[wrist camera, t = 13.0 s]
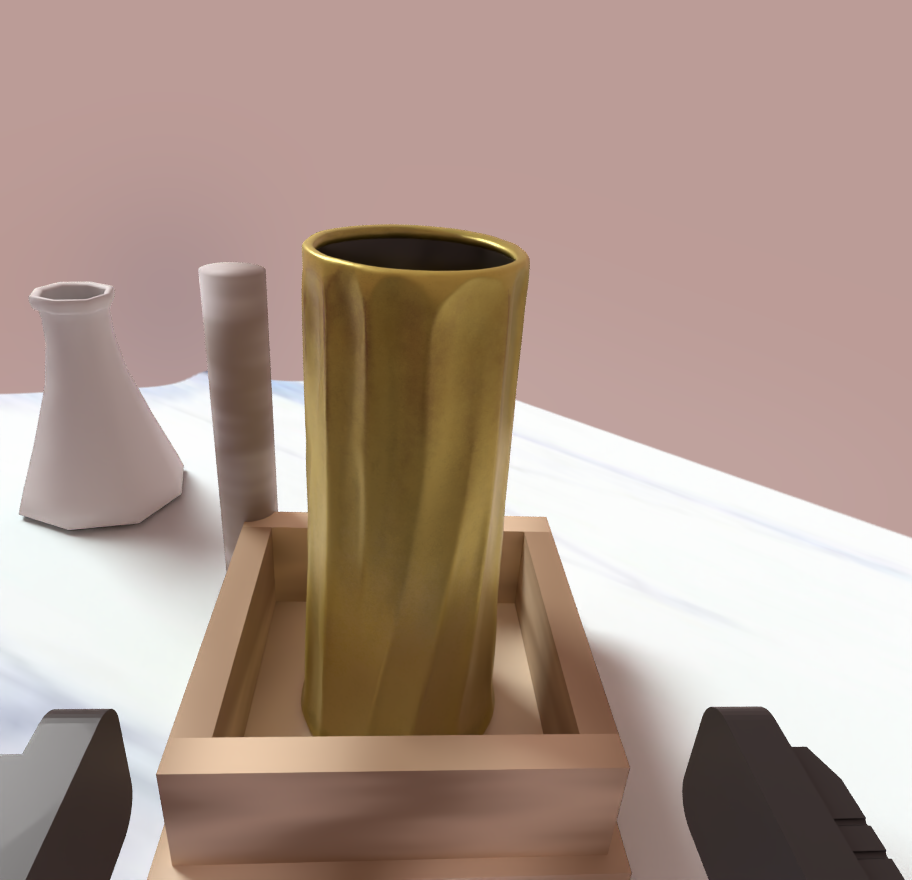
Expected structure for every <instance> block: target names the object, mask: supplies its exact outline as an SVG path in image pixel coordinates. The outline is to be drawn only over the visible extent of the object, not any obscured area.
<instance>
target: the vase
mask: <svg viewBox="0 0 912 880" xmlns="http://www.w3.org/2000/svg"><path fill="white" fill-rule="evenodd" d="M302 262H303V272H302V329H303V331H302V332H303V367H304V368H303V369H304V400H305V427H306V477H307V498H308V530H307V544H308V574H307V598H306V628H305V679H304V683H303V688H302V695H301V708H302V713H303V716H304V719H305V721H306V723H307V725H308V727H309V730H310V732H311V733H312V735H313V737H328V736H432V735H483V734H484V732H485V731H486V729H487V727H488V725H489V724H490V721H491V719H492V716H493V712H494V705H495V695H494V687H493V668H494V657H495V645H496V626H497V601H498V588H499V576H500V565H501V554H502V543H503V530H504V514H505V500H506V490H507V480H508V470H509V460H510V449H511V439H512V429H513V420H514V409H515V398H516V386H517V378H518V369H519V359H520V350H521V342H522V332H523V322H524V312H525V304H526V297H527V289H528V281H529V269H530V260H529V257H528V255H527V254H526V252H525V251H524V250H522V249H521V248H520V247H519V246H517V245H515V244H513V243H511V242H508V241H505V240H502V239H499V238H497V237H493V236H490V235H486V234H481V233H476V232H471V231H465V230H459V229H452V228H442V227H432V226H418V225H392V224H389V225H365V226H364V225H362V226H350V227H342V228H334V229H328V230H324V231H320V232H318V233H315V234H313V235H311V236H310V237H309V238H308V239H307V240H305V241H304V243H303V245H302Z"/></svg>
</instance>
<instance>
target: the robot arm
mask: <svg viewBox="0 0 912 880" xmlns="http://www.w3.org/2000/svg"><path fill="white" fill-rule="evenodd" d="M682 793H683V806H684V812H685V817H686V820H687V824H688V827H689V830H690V832H691V835H692V838H693V840H694V843H695V845H696V848H697V851H698V853H699V856H700V858H701V861H702V863H703V866H704V869H705V871H706V874H707V876H708V879H709V880H905V879H904V878H903V876H902V874H901V873H900V871H899V870H898V868H897V867H896V865H895V863H894V862H893V860H892V859H888V857H887V855H886V849H885V848H884V846H883V844H882V843H881V841H880V840H879V838H878V836H877V835H876V833H875V832H874V830H873V829H872V827H871V826H868V825H867V824H866V821H865V819H866V817H865V816H864V814H863V813H862V811H861V810H860V808H859V806H858V805H857V803H856V802H855V800H854V798H853V797H852V795H851V794H850V792H849V791H848V789H847V787H846V786H845V784H844V783H843V781H842V779H840V778H839V777H838V776H837V775H836V774H835V773H834V772H833V771H832V770H831V769H830V768H829V767H828V766H827V765H825V764H824V763H823V762H822V761H821V760H820V759H819V758H818V757H817V756H816V755H815V754H814V753H813V752H812V751H810V750H809V749H808V748H807V747H791V746H790V744H789V742H788V741H787V739H786V737H785V735H784V734H783V732H782V730H781V729H780V727H779V725H778V724H777V722H776V720H775V719H774V717H773V716H772V714H771V713H770V712H769V711H768V710H767V709H765V708H763V707H709V708H708V709H706V711H705V712H704V714H703V717H702V720H701V723H700V727H699V730H698V733H697V736H696V740H695V743H694V746H693V749H692V753H691V756H690V759H689V762H688V766H687V769H686V772H685V776H684V780H683V790H682ZM131 808H132V783H131V778H130V773H129V768H128V763H127V758H126V753H125V748H124V743H123V738H122V733H121V728H120V723H119V718H118V715H117V713H116V711H115V710H113V709H54V710H51V711H49V712H48V713H47V714H46V715H45V716H44V717H43V718H42V720H41V722H40V723H39V725H38V727H37V729H36V730H35V732H34V734H33V736H32V738H31V739H30V741H29V743H28V745H27V747H26V748H25V750H24V752H23V754H5V755H0V880H110V878H111V875H112V873H113V870H114V867H115V864H116V862H117V859H118V856H119V853H120V850H121V848H122V845H123V842H124V839H125V836H126V833H127V829H128V825H129V821H130V815H131Z"/></svg>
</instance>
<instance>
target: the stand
mask: <svg viewBox="0 0 912 880" xmlns="http://www.w3.org/2000/svg"><path fill="white" fill-rule="evenodd" d="M199 281H200V291H201V302H202V313H203V324H204V335H205V345H206V356H207V367H208V378H209V388H210V399H211V410H212V421H213V431H214V442H215V453H216V464H217V474H218V485H219V496H220V506H221V517H222V528H223V539H224V549H225V560H226V571H227V573H226V576H225V578H224V581H223V584H222V587H221V590H220V593H219V596H218V598H217V601H216V604H215V607H214V610H213V613H212V616H211V619H210V621H209V624H208V627H207V630H206V633H205V636H204V639H203V641H202V644H201V647H200V650H199V653H198V656H197V659H196V661H195V664H194V667H193V670H192V673H191V676H190V679H189V682H188V684H187V687H186V690H185V693H184V696H183V699H182V702H181V704H180V707H179V710H178V713H177V716H176V719H175V722H174V725H173V727H172V730H171V733H170V736H169V739H168V742H167V745H166V747H165V750H164V753H163V756H162V759H161V762H160V765H159V768H158V770H157V773H156V777H157V783H158V788H159V794H160V800H161V805H162V811H163V817H164V823H165V824H164V827H163V830H162V833H161V837H160V840H159V843H158V846H157V849H156V852H155V856H154V859H153V862H152V865H151V868H150V871H149V875H148V878H147V880H630V877H631V874H632V872H631V869H630V865H629V862H628V859H627V855H626V852H625V848H624V845H623V841H622V838H621V835H620V831H619V828H618V824H617V821H616V820H617V816H618V812H619V808H620V804H621V801H622V797H623V793H624V789H625V785H626V781H627V777H628V773H629V769H630V766H629V763H628V760H627V757H626V754H625V751H624V748H623V745H622V742H621V739H620V736H619V733H618V730H617V727H616V724H615V721H614V718H613V715H612V712H611V709H610V706H609V703H608V700H607V697H606V694H605V691H604V688H603V685H602V682H601V679H600V676H599V673H598V671H597V668H596V665H595V662H594V659H593V656H592V653H591V650H590V647H589V644H588V641H587V638H586V635H585V632H584V629H583V626H582V623H581V620H580V617H579V614H578V611H577V608H576V605H575V602H574V599H573V596H572V593H571V590H570V587H569V584H568V581H567V578H566V575H565V572H564V569H563V566H562V563H561V560H560V557H559V554H558V551H557V548H556V545H555V542H554V539H553V536H552V533H551V530H550V527H549V524H548V521H547V518H546V517H520V516H504V530H503V543H502V554H501V565H500V576H499V588H498V601H497V626H496V645H495V657H494V668H493V687H494V695H495V705H494V712H493V716H492V719H491V721H490V724H489V725H488V727H487V729H486V731H485V732H484V734H483V735H432V736H328V737H313V735H312V733H311V732H310V730H309V727H308V725H307V723H306V721H305V719H304V716H303V713H302V708H301V695H302V688H303V683H304V679H305V628H306V598H307V574H308V544H307V530H308V512H278V504H277V485H276V465H275V445H274V426H273V406H272V387H271V368H270V348H269V330H268V309H267V289H266V270H265V268H264V267H262V266H259V265H255V264H250V263H241V262H222V263H214V264H208V265H205V266H202V267H200V268H199Z"/></svg>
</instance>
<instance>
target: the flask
mask: <svg viewBox="0 0 912 880" xmlns="http://www.w3.org/2000/svg"><path fill="white" fill-rule="evenodd" d="M114 295H115V290H114V286H110V285H105V284H99V283H95V282H57V283H54V284H50V285H46V286H42V287H39V288H35V289H34V290H33V292H32V293H31V294H30V295H29V303H30V304H31V307H32V308H33V309H34V310H38V311H39V314H40V317H41V319H42V325H43V331H44V336H45V342H46V354H45V364H46V365H45V387H44V393H43V398H42V404H41V409H40V415H39V420H38V425H37V431H36V436H35V442H34V446H33V451H32V455H31V459H30V464H29V468H28V472H27V477H26V481H25V486H24V490H23V494H22V500H21V505H20V510H19V515H22V516H26V517H29V518H32V519H35V520H38V521H42V522H45V523H48V524H51V525H54V526H57V527H61V528H64V529H67V530H74V529H85V528H95V527H105V526H116V525H126V524H136V523H140V522H142V521H143V520H145V519H146V518H148V517H149V516H150V515H152V514H153V513H155V512H156V511H158V510H159V509H160V508H162V507H163V506H165V505H166V504H168V503H169V502H170V501H172V500H173V499H175V498H176V497H178V496H179V495H181V494H182V483H183V468H184V465H183V463H182V461H181V460H180V458H179V456H178V454H177V453H176V451H175V449H174V448H173V446H172V444H171V443H170V441H169V440H168V438H167V436H166V435H165V433H164V431H163V430H162V428H161V427H160V425H159V423H158V422H157V420H156V419H155V417H154V415H153V414H152V412H151V410H150V408H149V407H148V405H147V403H146V401H145V399H144V398H143V396H142V394H141V392H140V390H139V389H138V387H137V385H136V383H135V382H134V380H133V378H132V376H131V374H130V373H129V371H128V369H127V367H126V364H125V361H124V359H123V356H122V353H121V350H120V347H119V345H118V342H117V339H116V336H115V334H114V330H113V324H112V318H111V312H110V306H111V303H112V301H113V299H114Z"/></svg>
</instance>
